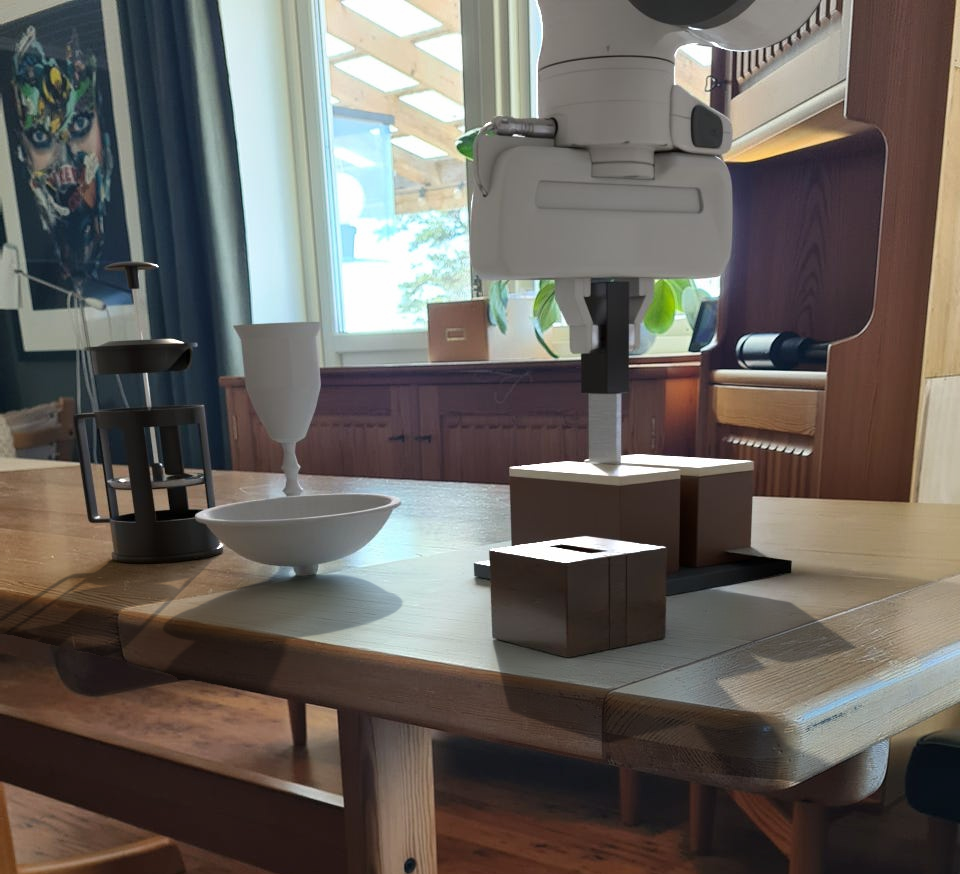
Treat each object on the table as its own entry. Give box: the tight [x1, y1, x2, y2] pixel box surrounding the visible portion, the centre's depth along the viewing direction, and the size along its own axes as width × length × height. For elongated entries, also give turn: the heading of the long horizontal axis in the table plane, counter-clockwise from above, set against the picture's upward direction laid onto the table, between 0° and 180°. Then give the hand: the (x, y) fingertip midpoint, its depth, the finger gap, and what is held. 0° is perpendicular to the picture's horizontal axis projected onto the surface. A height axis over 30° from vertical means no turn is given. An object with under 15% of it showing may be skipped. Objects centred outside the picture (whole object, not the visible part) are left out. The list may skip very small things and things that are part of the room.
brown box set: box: [473, 454, 793, 596], centre depth 90 cm, size 16×16×8 cm
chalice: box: [232, 321, 323, 497], centre depth 108 cm, size 7×7×18 cm
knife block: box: [488, 536, 667, 658], centre depth 72 cm, size 7×7×5 cm
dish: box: [195, 492, 402, 576], centre depth 97 cm, size 18×14×5 cm
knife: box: [580, 281, 630, 465], centre depth 89 cm, size 2×3×17 cm, turn 35°
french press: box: [72, 261, 224, 564], centre depth 106 cm, size 12×9×23 cm
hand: (605, 352), depth 88 cm, fingers closed on knife, 2 cm apart
